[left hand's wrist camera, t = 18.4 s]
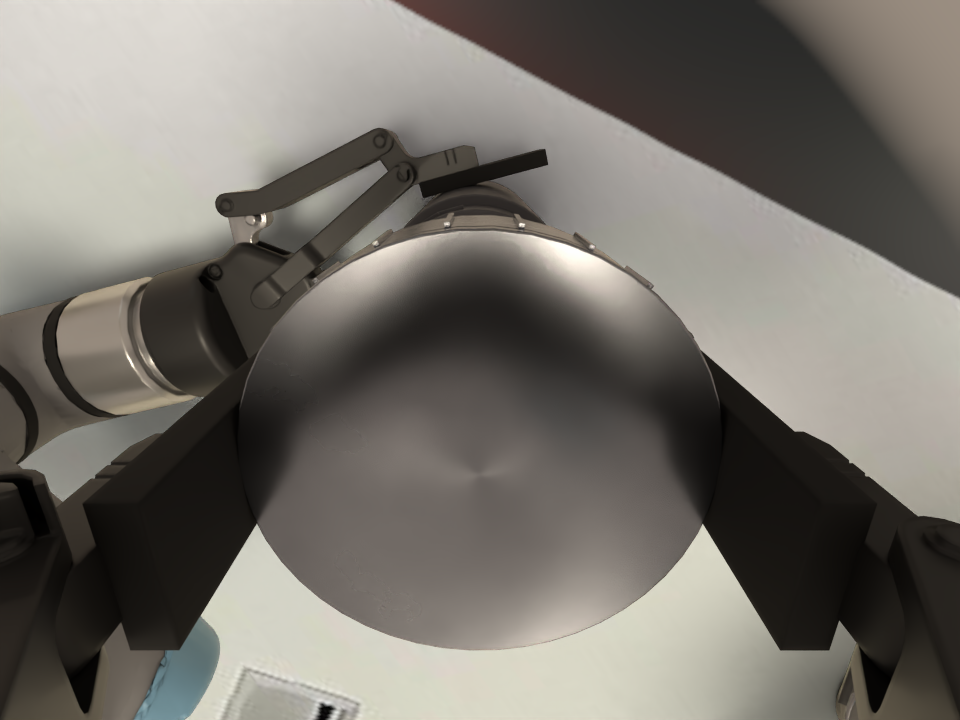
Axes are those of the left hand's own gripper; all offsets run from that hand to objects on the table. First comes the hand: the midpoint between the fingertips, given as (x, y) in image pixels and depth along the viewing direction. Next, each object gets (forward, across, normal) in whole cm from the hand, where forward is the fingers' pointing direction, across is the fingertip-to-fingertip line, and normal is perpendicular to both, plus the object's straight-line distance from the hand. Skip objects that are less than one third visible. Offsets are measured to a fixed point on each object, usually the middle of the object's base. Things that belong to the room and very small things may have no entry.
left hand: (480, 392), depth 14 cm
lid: (-3, 0, 0) cm, 3 cm away
